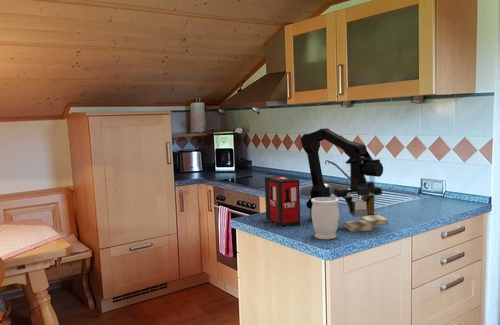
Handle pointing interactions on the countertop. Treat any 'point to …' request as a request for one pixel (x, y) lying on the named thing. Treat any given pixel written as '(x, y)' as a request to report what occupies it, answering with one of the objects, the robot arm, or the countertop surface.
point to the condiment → (370, 207)
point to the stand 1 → (357, 226)
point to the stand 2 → (374, 219)
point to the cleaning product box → (282, 200)
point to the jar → (325, 217)
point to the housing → (358, 208)
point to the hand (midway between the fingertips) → (357, 212)
